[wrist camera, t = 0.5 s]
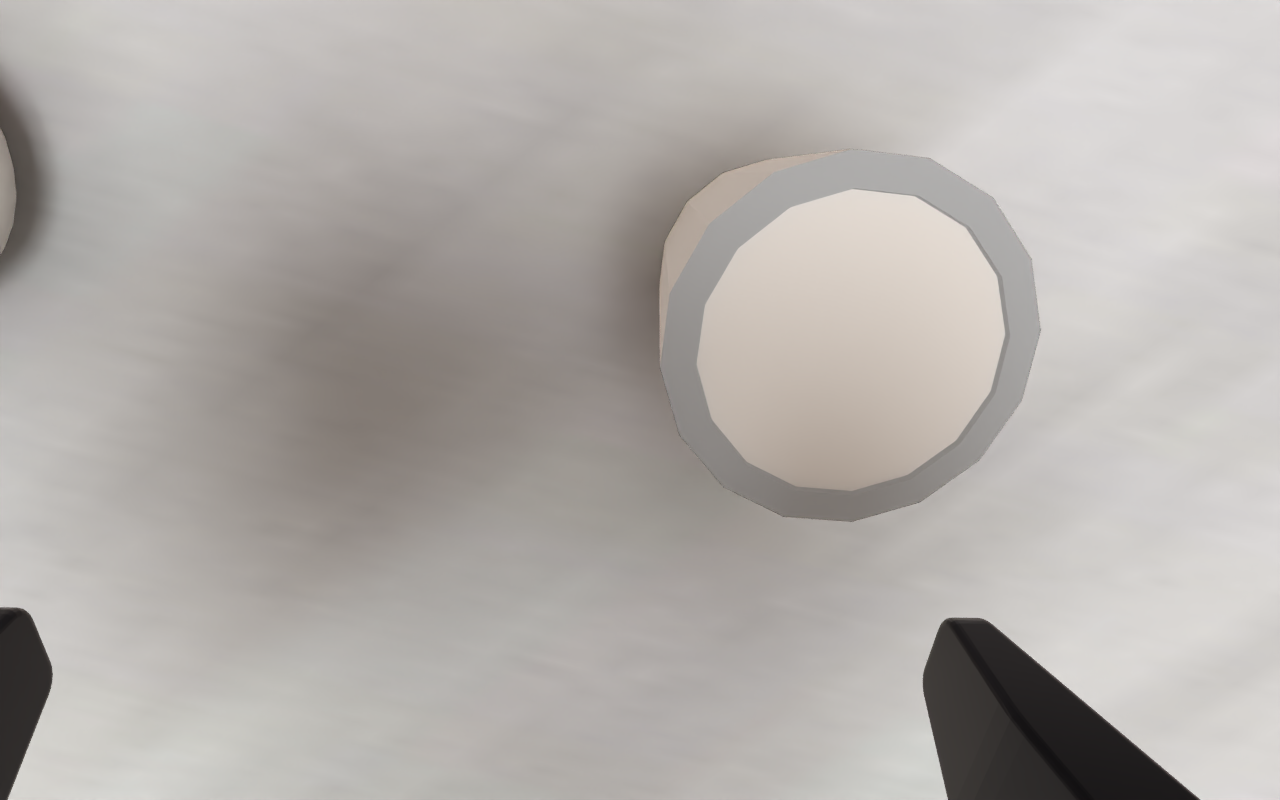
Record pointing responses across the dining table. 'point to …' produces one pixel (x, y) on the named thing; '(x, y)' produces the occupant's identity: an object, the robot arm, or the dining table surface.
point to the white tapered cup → (843, 330)
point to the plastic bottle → (6, 192)
